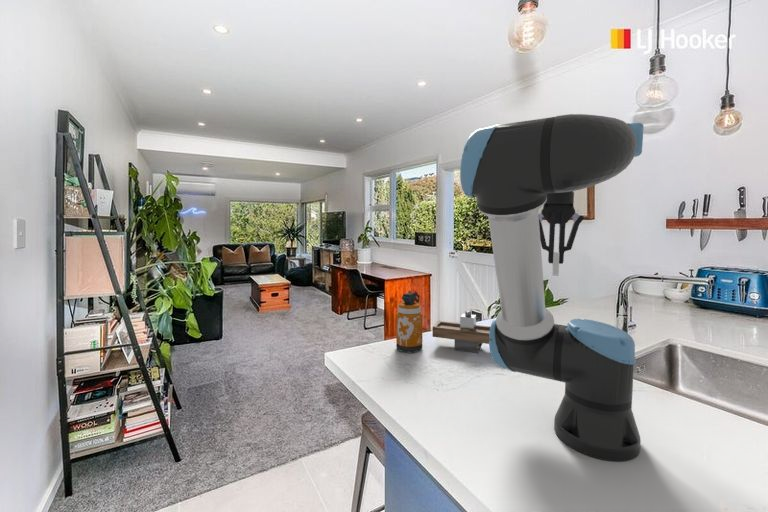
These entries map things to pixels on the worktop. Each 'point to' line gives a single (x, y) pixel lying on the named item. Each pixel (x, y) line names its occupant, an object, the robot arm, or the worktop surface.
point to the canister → (409, 324)
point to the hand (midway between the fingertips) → (555, 274)
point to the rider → (468, 321)
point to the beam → (462, 335)
